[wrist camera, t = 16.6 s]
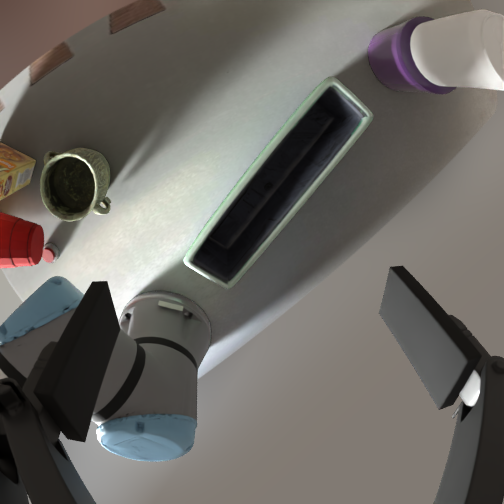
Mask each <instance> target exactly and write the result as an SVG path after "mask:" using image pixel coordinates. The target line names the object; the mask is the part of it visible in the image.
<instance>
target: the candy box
mask: <svg viewBox="0 0 504 504" xmlns="http://www.w3.org/2000/svg"><path fill="white" fill-rule="evenodd" d="M35 163H36V160H34V159H32V158H30V157H29V156H27V155H25V154H23V153H21V152H19V151H17V150H15V149H13V148H11V147H9V146H7V145H5V144H3V143H1V142H0V200H2V199H4V198H5V197H7V196H9V195H10V194H12V193H14V192H16V191H17V190H19V189H21V188H23V187H24V186H26V185H28V184H30V180H31V177H32V173H33V169H34V166H35Z"/></svg>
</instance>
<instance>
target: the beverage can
mask: <svg viewBox="0 0 504 504" xmlns="http://www.w3.org/2000/svg"><path fill="white" fill-rule="evenodd" d="M410 47H411V53H412V57H413V60H414V62H415V64H416V66H417V68H418V69H419V71H420V72H421V73H422V75H423V76H424V77H425V78H426V79H428V80H429V81H430V82H432V83H434V84H436V85H438V86H447V87H468V88H482V89H493V90H504V16H503V15H501V14H499V13H494V12H492V11H489V10H484V9H480V10H475V11H470V12H465V13H460V14H456V15H451V16H447V17H443V18H439V19H435V20H431V21H428V22H424V23H421V24H419V25H418V26H417V27H416V28H415V29H414V31H413V33H412V35H411V41H410Z"/></svg>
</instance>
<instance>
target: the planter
mask: <svg viewBox="0 0 504 504" xmlns="http://www.w3.org/2000/svg"><path fill="white" fill-rule="evenodd" d="M372 120H373V114H372V112H371V111H370V110H369V109H368V108H367V107H366V106H365V105H364V104H363V103H362V102H361V101H360V100H359V99H358V98H357V97H356V96H355V95H354V94H353V93H352V92H351V91H350V90H349V89H348V88H347V87H346V86H344V85H343V84H342V83H341V82H340V81H339V80H338V79H336V78H334V77H328V78H326V79H325V80H324V81H323V82H322V83H320V84H319V85H318V86H317V87H316V88H315V89H314V90H313V91H312V92H311V93H310V94H309V96H308V97H307V98H306V99H305V100H304V101H303V102H302V104H301V105H300V106H299V107H298V108H297V109H296V111H295V112H294V113H293V114H292V115H291V116H290V118H289V119H288V120H287V121H286V122H285V124H284V125H283V126H282V127H281V129H280V130H279V131H278V132H277V133H276V135H275V136H274V137H273V138H272V139H271V141H270V142H269V143H268V144H267V146H266V147H265V148H264V149H263V151H262V152H261V153H260V154H259V156H258V157H257V158H256V159H255V161H254V162H253V163H252V164H251V166H250V167H249V168H248V170H247V171H246V172H245V173H244V175H243V176H242V177H241V178H240V180H239V181H238V182H237V184H236V185H235V186H234V188H233V189H232V190H231V191H230V193H229V194H228V195H227V197H226V198H225V199H224V201H223V202H222V203H221V205H220V206H219V207H218V209H217V210H216V211H215V213H214V214H213V215H212V217H211V218H210V219H209V221H208V222H207V223H206V225H205V226H204V228H203V229H202V230H201V232H200V233H199V235H198V236H197V238H196V239H195V241H194V242H193V244H192V246H191V247H190V249H189V250H188V252H187V254H186V256H185V258H184V263H185V264H186V265H187V266H188V267H190V268H191V269H193V270H195V271H196V272H198V273H199V274H201V275H203V276H204V277H206V278H208V279H209V280H211V281H213V282H214V283H216V284H218V285H220V286H221V287H223V288H225V289H231V288H232V287H233V286H234V285H235V284H236V283H237V282H238V281H239V280H240V279H241V277H242V276H243V275H244V274H245V273H246V272H247V271H248V269H249V268H250V267H251V266H252V265H253V264H254V262H255V261H256V260H257V259H258V258H259V256H260V255H261V254H262V253H263V252H264V251H265V249H266V248H267V247H268V246H269V245H270V244H271V242H272V241H273V240H274V239H275V238H276V236H277V235H278V234H279V233H280V232H281V231H282V229H283V228H284V227H285V226H286V225H287V223H288V222H289V221H290V220H291V219H292V217H293V216H294V215H295V214H296V213H297V212H298V210H299V209H300V208H301V207H302V206H303V204H304V203H305V202H306V201H307V200H308V198H309V197H310V196H311V195H312V194H313V192H314V191H315V190H316V189H317V188H318V186H319V185H320V184H321V183H322V182H323V180H324V179H325V178H326V177H327V176H328V174H329V173H330V172H331V171H332V170H333V168H334V167H335V166H336V165H337V164H338V162H339V161H340V160H341V159H342V158H343V156H344V155H345V154H346V153H347V151H348V150H349V149H350V148H351V147H352V145H353V144H354V143H355V142H356V141H357V139H358V138H359V137H360V136H361V134H362V133H363V132H364V131H365V129H366V128H367V127H368V126H369V124H370V123H371V122H372Z"/></svg>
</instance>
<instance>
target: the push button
mask: <svg viewBox="0 0 504 504" xmlns="http://www.w3.org/2000/svg"><path fill="white" fill-rule="evenodd" d="M42 257H43V259H44V260H45V261H46V262H48V263H54V262H55V261H56V260H57V259H58V258H59V249H58V248H57V246H56V245H54V244H53V243H47V244H46V245H45V246H44V248H43V253H42Z"/></svg>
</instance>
